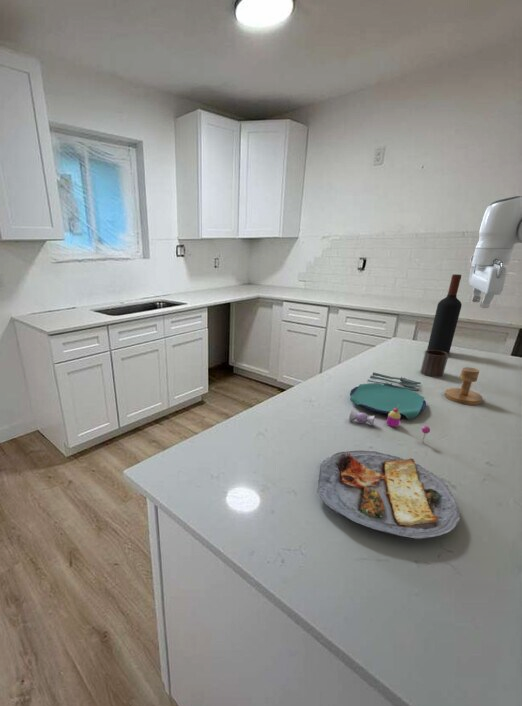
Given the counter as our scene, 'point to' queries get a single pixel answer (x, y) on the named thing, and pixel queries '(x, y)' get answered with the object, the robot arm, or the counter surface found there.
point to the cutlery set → (389, 396)
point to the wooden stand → (465, 388)
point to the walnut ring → (434, 363)
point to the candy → (391, 420)
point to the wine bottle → (446, 319)
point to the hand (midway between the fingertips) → (479, 304)
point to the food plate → (387, 494)
